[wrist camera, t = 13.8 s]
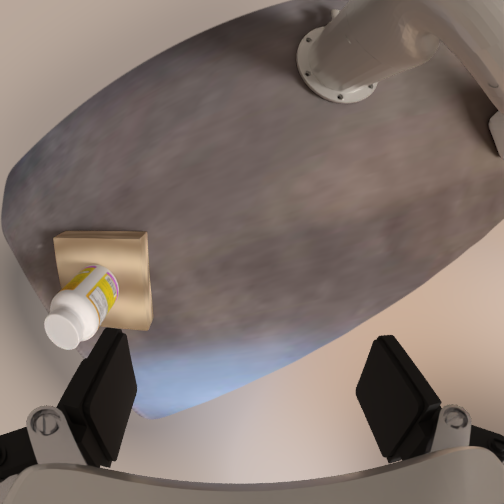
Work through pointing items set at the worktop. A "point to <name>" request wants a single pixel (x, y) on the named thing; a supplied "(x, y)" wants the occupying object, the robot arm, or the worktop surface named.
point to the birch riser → (118, 262)
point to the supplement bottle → (81, 306)
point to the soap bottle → (498, 131)
